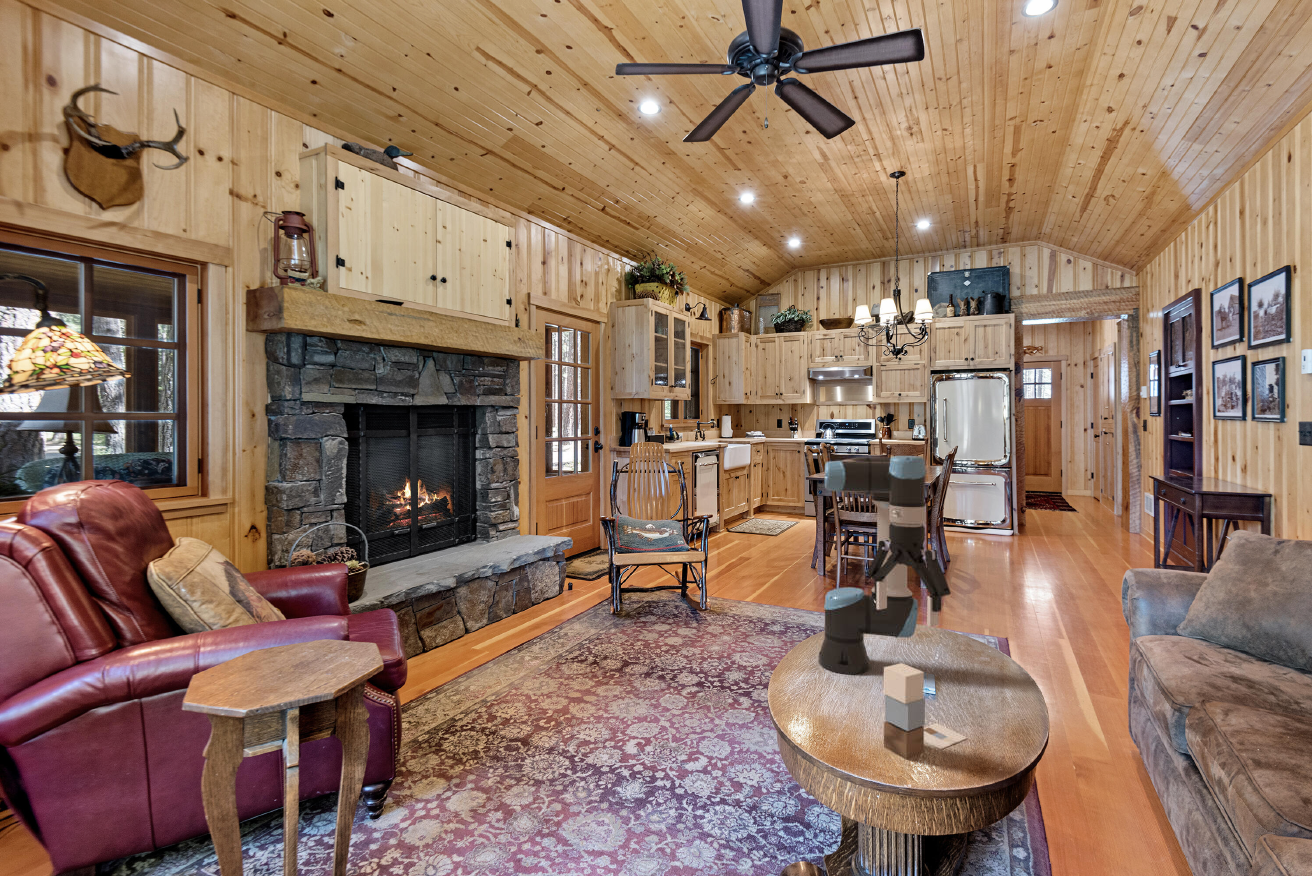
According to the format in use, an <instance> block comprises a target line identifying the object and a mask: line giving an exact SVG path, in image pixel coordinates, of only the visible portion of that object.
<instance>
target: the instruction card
mask: <svg viewBox="0 0 1312 876" xmlns="http://www.w3.org/2000/svg"><path fill="white" fill-rule="evenodd" d="M967 739H968V737H967V736H964V735H962V734H961V733H958V732H956V731H954V730H952V729H950V728H948V727H946V726H944V725H942V724H940V723H938V722H936V723H933V724H931V725H928V726H926V727H925V726H924V743H927V744H929V745H931V747H934V748H936V749H938V750H939V751H941V750H943V749H946V748H948V747H951V746H952V745H955V744H958V743H959V742H962V741H965V740H967Z"/></svg>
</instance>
